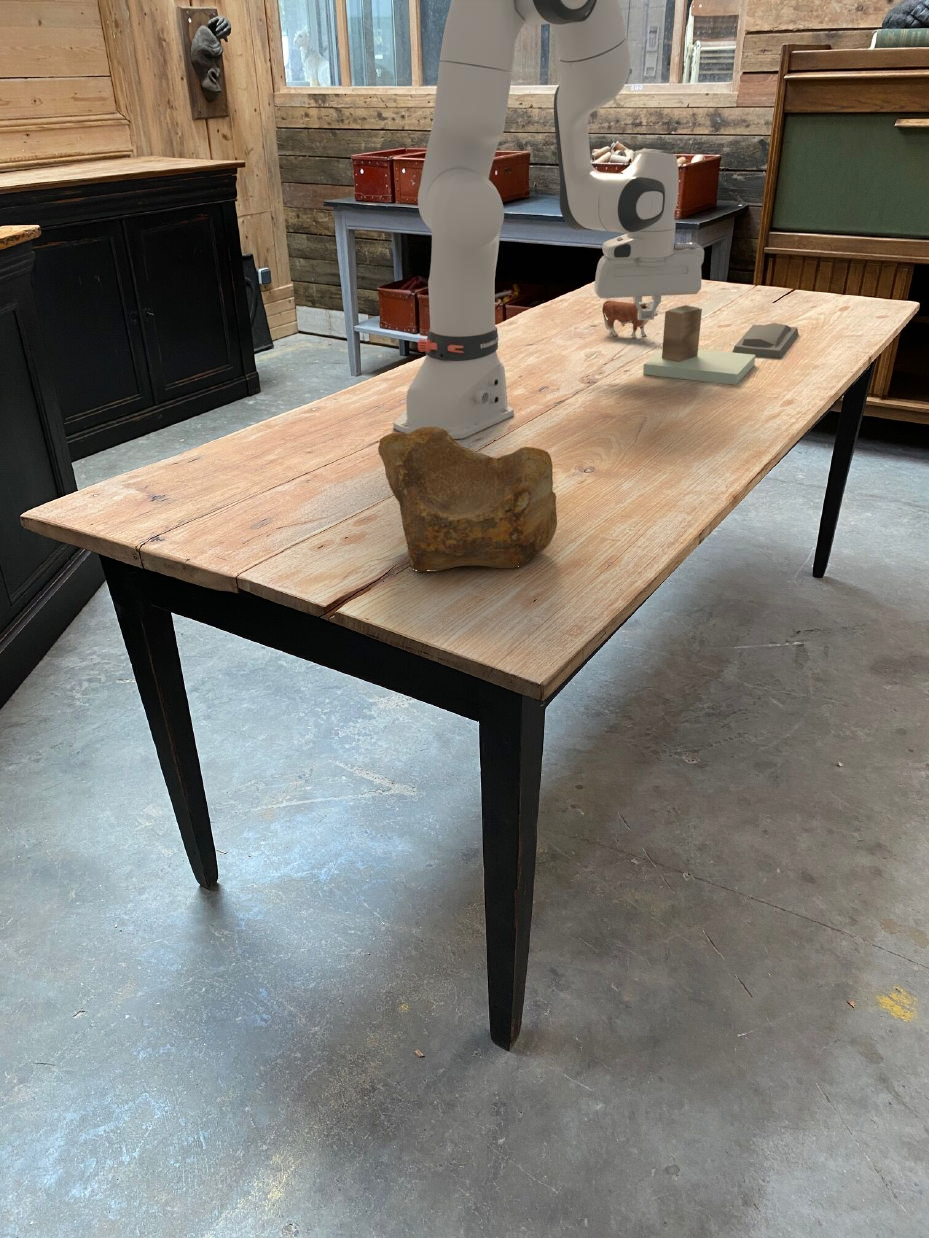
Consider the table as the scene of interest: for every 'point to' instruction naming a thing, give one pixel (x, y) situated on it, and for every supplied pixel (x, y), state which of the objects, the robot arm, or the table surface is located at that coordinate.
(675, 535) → the table surface
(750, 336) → the soap mold
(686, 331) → the block
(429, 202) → the robot arm
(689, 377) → the board
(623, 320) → the bull figurine
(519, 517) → the rough brown rock
